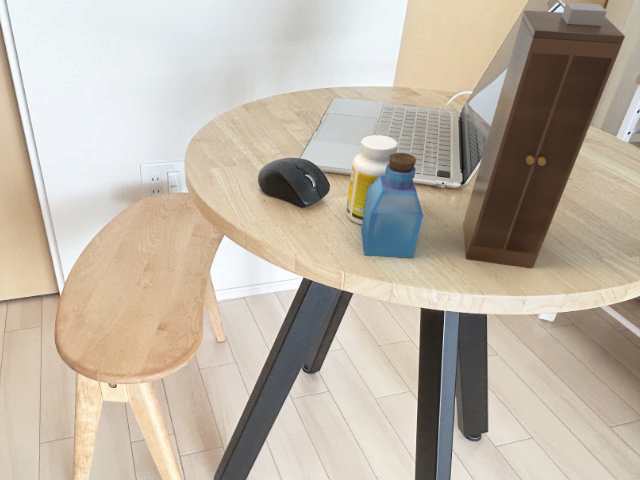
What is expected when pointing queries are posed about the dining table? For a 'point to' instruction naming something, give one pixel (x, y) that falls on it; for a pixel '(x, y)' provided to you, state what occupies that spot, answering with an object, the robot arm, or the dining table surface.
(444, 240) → the dining table surface
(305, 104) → the dining table surface
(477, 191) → the cupboard
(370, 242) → the perfume bottle
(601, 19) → the small grey rectangular block
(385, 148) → the pill bottle
